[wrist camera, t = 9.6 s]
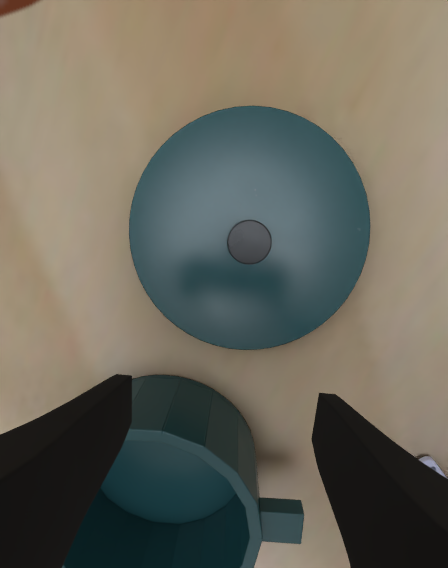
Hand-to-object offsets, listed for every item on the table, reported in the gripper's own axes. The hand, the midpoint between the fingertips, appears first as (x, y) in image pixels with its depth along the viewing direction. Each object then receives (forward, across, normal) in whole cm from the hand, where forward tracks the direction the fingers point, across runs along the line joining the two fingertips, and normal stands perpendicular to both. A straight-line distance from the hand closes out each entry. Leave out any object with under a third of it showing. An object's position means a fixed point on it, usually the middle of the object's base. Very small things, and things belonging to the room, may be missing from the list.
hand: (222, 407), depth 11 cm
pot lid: (+10, -1, -6) cm, 11 cm away
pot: (+10, +4, +12) cm, 17 cm away
